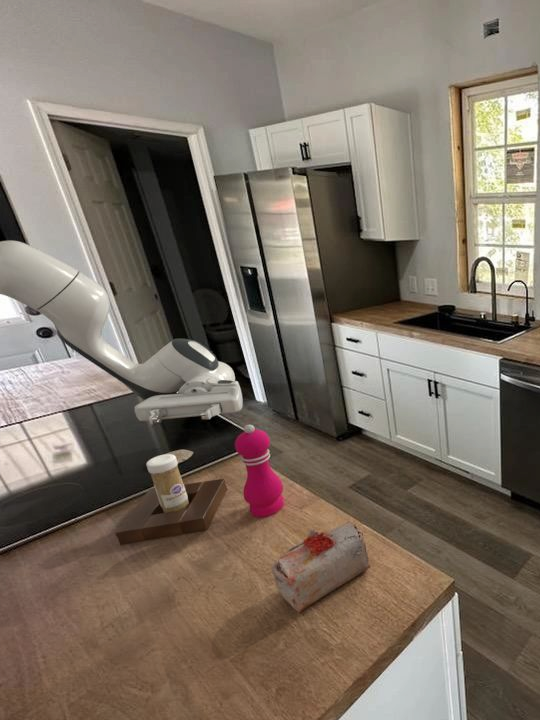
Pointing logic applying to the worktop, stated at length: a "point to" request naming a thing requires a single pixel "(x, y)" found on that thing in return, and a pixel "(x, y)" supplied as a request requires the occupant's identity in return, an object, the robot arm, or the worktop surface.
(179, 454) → the flatbread
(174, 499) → the sprinkles bottle
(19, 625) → the worktop surface
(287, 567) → the food item
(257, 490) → the pepper mill
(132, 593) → the worktop surface
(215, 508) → the socket block
